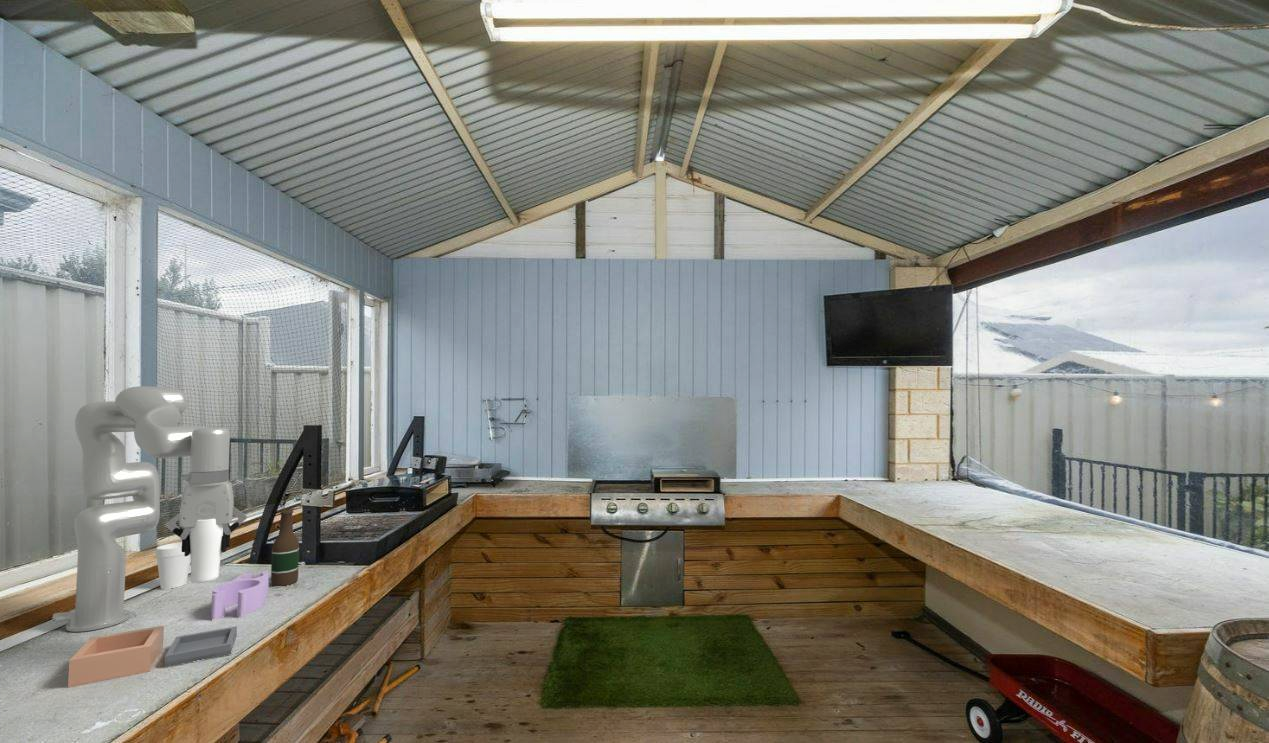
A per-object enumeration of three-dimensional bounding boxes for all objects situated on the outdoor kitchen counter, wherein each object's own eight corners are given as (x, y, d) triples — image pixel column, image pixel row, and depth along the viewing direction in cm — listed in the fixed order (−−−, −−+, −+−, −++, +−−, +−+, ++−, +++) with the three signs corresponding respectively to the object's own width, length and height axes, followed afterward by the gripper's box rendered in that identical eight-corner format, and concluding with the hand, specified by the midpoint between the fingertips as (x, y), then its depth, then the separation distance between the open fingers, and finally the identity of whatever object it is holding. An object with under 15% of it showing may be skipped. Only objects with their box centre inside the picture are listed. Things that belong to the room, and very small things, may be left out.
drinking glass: (191, 586, 127) (195, 521, 128) (183, 580, 131) (186, 517, 132) (226, 579, 133) (229, 516, 133) (217, 574, 137) (220, 513, 138)
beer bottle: (295, 578, 185) (297, 506, 187) (301, 583, 180) (303, 509, 181) (268, 583, 180) (270, 509, 181) (273, 589, 174) (275, 513, 176)
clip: (233, 597, 168) (234, 574, 168) (279, 593, 171) (280, 570, 172) (200, 622, 149) (201, 596, 149) (253, 617, 152) (253, 591, 152)
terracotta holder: (68, 687, 114) (69, 660, 115) (89, 662, 126) (90, 637, 126) (149, 671, 121) (150, 646, 121) (162, 648, 132) (163, 625, 133)
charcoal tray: (164, 667, 123) (165, 656, 123) (175, 647, 133) (176, 636, 133) (230, 654, 129) (231, 644, 129) (236, 636, 139) (236, 626, 139)
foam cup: (196, 584, 179) (198, 544, 180) (161, 593, 171) (162, 551, 172) (185, 579, 184) (186, 540, 185) (149, 587, 176) (151, 546, 177)
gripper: (159, 482, 126) (155, 562, 125) (250, 477, 134) (248, 551, 133) (166, 478, 132) (163, 554, 131) (253, 474, 141) (251, 544, 140)
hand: (206, 552), depth 132 cm, fingers closed on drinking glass, 6 cm apart
